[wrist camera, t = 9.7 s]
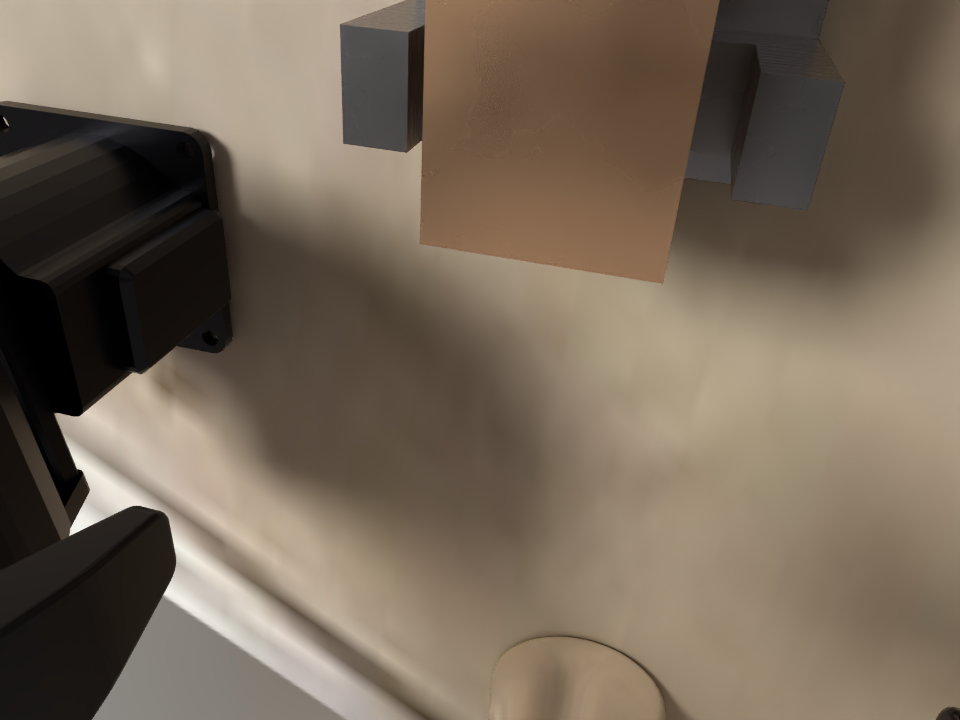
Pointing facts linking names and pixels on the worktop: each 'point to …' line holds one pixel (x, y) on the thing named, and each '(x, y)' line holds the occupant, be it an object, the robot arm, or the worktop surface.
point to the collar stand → (721, 112)
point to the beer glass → (571, 683)
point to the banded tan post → (561, 128)
